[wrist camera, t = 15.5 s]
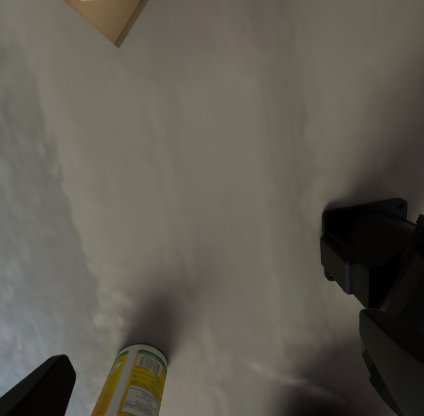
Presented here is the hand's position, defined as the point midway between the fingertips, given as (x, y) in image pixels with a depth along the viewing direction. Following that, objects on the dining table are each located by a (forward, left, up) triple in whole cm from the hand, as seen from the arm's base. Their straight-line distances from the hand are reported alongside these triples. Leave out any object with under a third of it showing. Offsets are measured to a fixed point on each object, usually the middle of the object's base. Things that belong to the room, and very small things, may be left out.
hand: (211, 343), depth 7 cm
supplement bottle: (+10, +15, -13) cm, 22 cm away
